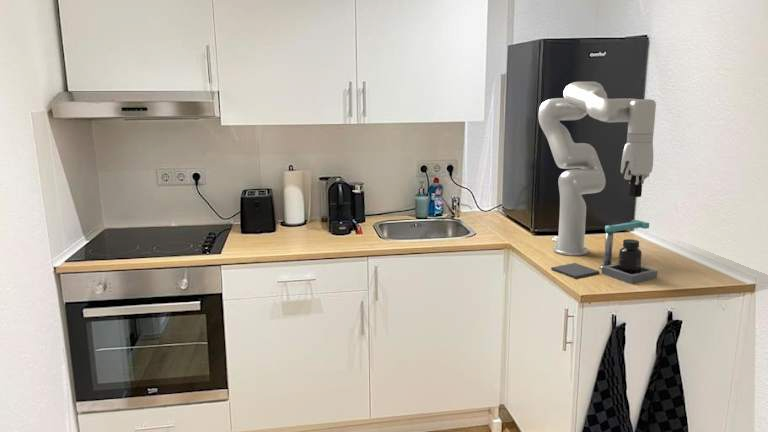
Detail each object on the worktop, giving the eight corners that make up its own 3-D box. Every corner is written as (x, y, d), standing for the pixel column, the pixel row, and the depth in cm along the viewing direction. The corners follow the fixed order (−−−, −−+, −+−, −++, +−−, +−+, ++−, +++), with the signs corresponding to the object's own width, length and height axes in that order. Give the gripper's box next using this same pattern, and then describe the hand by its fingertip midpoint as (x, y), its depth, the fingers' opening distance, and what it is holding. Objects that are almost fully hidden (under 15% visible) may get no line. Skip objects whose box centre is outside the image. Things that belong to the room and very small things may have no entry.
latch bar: (613, 233, 189) (613, 228, 189) (599, 230, 194) (599, 225, 194) (648, 228, 196) (649, 223, 196) (634, 224, 202) (635, 219, 201)
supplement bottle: (634, 272, 191) (637, 238, 188) (644, 278, 184) (647, 243, 182) (614, 272, 191) (616, 238, 188) (623, 279, 184) (626, 243, 181)
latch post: (596, 267, 196) (598, 231, 194) (606, 265, 199) (609, 229, 196) (607, 271, 192) (610, 234, 189) (618, 269, 194) (620, 233, 191)
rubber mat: (551, 269, 195) (551, 267, 195) (574, 265, 200) (574, 262, 200) (575, 278, 185) (575, 276, 185) (599, 273, 190) (599, 271, 190)
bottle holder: (601, 273, 190) (602, 266, 189) (626, 268, 195) (627, 261, 195) (631, 283, 180) (632, 276, 179) (656, 277, 185) (657, 270, 184)
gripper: (645, 137, 185) (640, 192, 189) (613, 139, 178) (609, 196, 182) (665, 138, 179) (660, 195, 183) (634, 141, 172) (629, 200, 176)
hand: (635, 196), depth 182 cm, fingers closed
